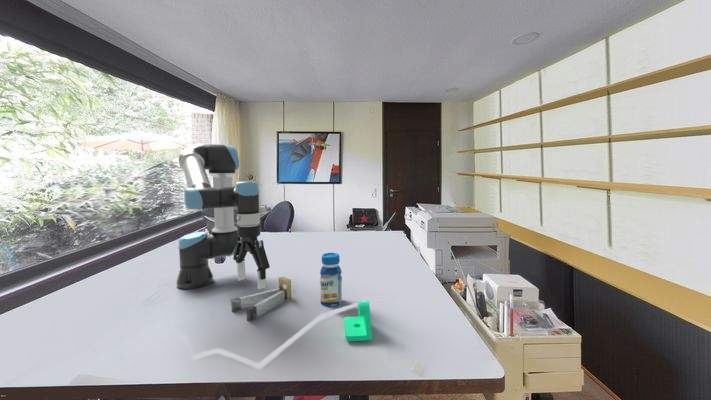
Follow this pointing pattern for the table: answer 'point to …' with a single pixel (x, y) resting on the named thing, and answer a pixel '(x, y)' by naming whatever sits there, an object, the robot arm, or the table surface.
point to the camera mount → (359, 324)
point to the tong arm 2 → (265, 305)
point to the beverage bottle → (331, 280)
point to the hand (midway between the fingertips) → (251, 283)
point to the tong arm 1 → (251, 299)
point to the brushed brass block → (288, 286)
